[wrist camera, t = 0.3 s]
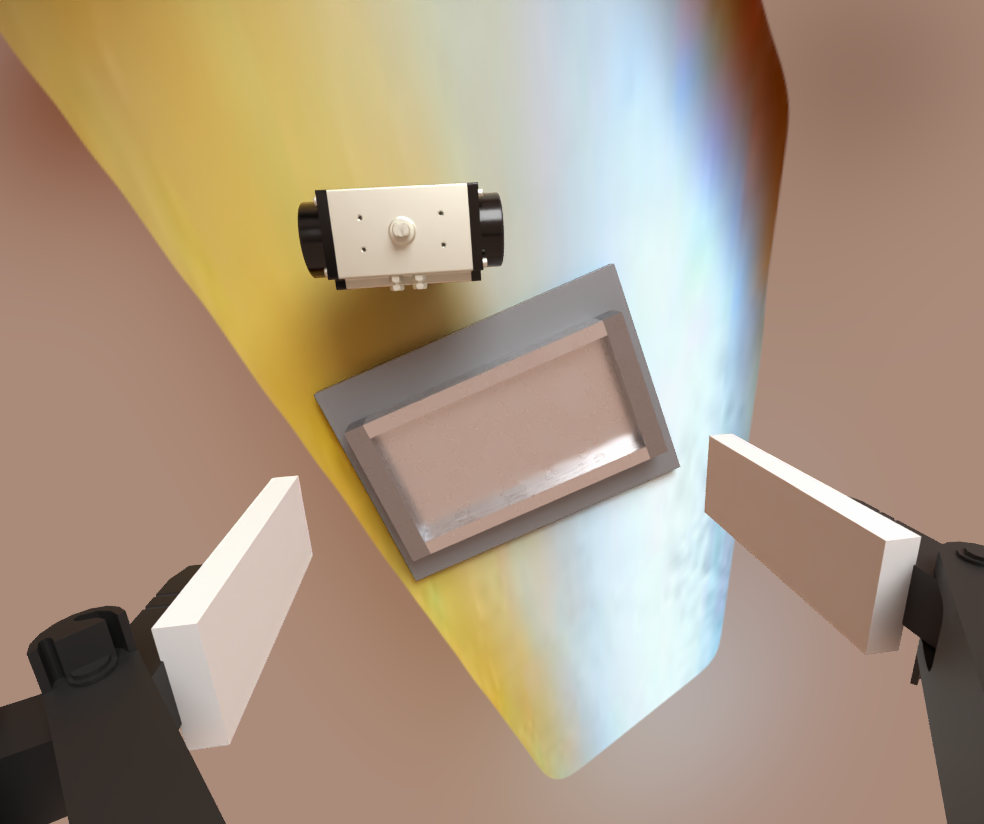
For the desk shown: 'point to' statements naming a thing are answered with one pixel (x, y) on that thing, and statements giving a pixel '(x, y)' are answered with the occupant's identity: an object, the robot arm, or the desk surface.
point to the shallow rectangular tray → (510, 435)
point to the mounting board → (478, 350)
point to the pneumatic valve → (401, 235)
